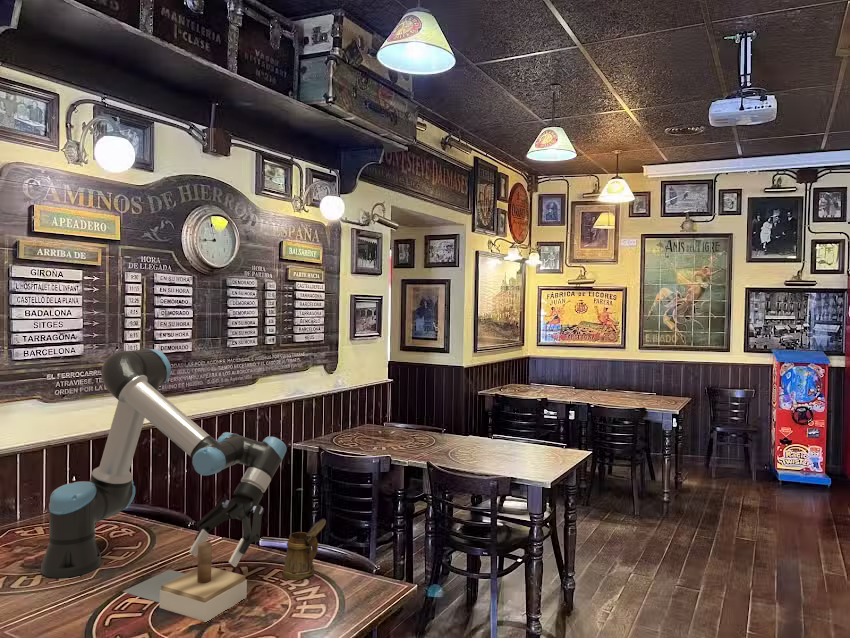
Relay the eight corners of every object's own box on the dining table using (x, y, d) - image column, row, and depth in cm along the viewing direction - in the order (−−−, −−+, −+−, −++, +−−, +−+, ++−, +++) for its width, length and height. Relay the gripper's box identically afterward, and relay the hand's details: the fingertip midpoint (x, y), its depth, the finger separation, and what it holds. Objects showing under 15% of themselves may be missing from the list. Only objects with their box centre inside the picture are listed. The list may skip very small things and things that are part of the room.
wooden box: (159, 610, 159) (159, 590, 159) (202, 586, 172) (203, 568, 172) (205, 623, 153) (205, 603, 153) (246, 598, 166) (246, 579, 166)
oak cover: (161, 590, 159) (162, 548, 159) (203, 569, 172) (204, 530, 172) (204, 602, 153) (206, 559, 153) (245, 580, 166) (246, 540, 166)
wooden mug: (310, 587, 174) (312, 522, 174) (275, 575, 181) (277, 513, 181) (332, 576, 182) (333, 514, 181) (297, 564, 189) (299, 505, 189)
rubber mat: (122, 593, 167) (122, 591, 167) (169, 571, 182) (169, 569, 181) (164, 606, 161) (164, 603, 161) (209, 582, 175) (209, 580, 175)
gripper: (293, 501, 175) (256, 575, 161) (224, 488, 185) (184, 556, 172) (281, 487, 170) (242, 562, 156) (211, 474, 180) (169, 543, 167)
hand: (211, 559), depth 164 cm, fingers open, 13 cm apart
